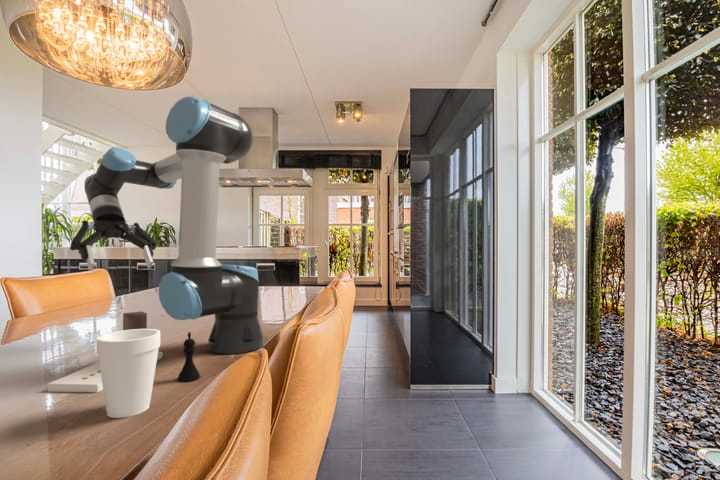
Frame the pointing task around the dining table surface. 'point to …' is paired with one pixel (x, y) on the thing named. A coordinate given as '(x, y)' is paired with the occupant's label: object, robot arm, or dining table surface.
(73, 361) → the dining table surface
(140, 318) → the stub
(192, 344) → the chess piece
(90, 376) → the white perforated board
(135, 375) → the foam cup
